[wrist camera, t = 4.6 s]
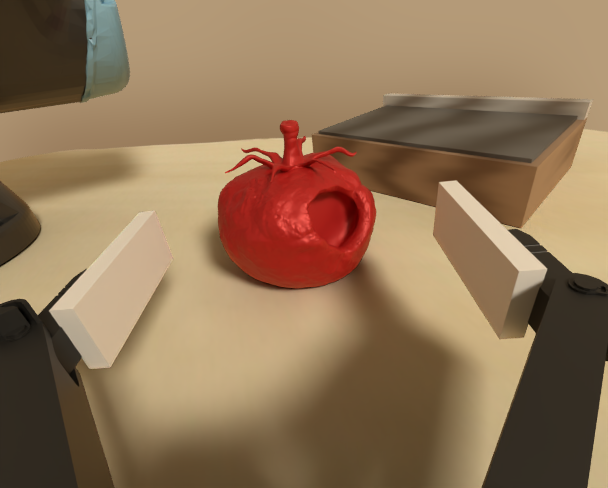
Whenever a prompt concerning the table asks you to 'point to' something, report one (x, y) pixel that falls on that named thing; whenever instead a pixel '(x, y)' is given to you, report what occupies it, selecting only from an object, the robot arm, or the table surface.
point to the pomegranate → (296, 216)
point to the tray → (463, 148)
